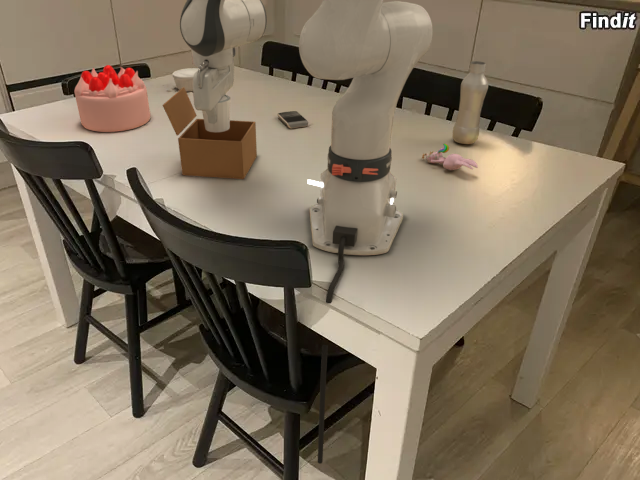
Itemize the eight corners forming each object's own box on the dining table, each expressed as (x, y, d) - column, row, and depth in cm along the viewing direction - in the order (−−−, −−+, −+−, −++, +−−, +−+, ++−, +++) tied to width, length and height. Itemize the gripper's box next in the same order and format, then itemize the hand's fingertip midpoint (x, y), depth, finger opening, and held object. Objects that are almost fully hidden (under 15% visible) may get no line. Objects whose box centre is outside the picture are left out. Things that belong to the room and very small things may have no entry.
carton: (243, 179, 129) (241, 142, 124) (182, 175, 131) (177, 138, 126) (256, 156, 140) (255, 121, 135) (200, 153, 142) (196, 118, 137)
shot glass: (238, 126, 131) (236, 96, 127) (220, 135, 127) (217, 104, 123) (215, 121, 134) (212, 91, 130) (196, 129, 130) (193, 99, 126)
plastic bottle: (459, 136, 150) (472, 58, 139) (482, 142, 146) (497, 62, 135) (446, 142, 147) (458, 63, 136) (469, 149, 143) (484, 67, 132)
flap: (163, 104, 122) (162, 105, 122) (178, 135, 126) (176, 135, 126) (184, 87, 134) (182, 87, 134) (196, 115, 137) (195, 116, 137)
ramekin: (169, 92, 187) (167, 76, 184) (180, 83, 196) (178, 67, 193) (202, 93, 186) (200, 77, 183) (211, 84, 195) (209, 68, 192)
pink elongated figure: (416, 167, 137) (465, 178, 125) (416, 142, 134) (466, 152, 123) (435, 161, 140) (484, 172, 128) (435, 137, 137) (485, 146, 125)
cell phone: (296, 115, 166) (296, 110, 165) (309, 127, 158) (309, 122, 157) (276, 117, 165) (276, 112, 164) (288, 129, 156) (288, 124, 155)
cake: (161, 123, 161) (154, 72, 153) (93, 138, 152) (82, 85, 144) (135, 106, 175) (128, 58, 167) (71, 119, 165) (60, 69, 157)
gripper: (212, 67, 112) (217, 134, 120) (237, 45, 129) (240, 105, 137) (182, 66, 113) (189, 132, 121) (211, 44, 130) (215, 103, 138)
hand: (216, 117), depth 129 cm, fingers closed on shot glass, 5 cm apart
